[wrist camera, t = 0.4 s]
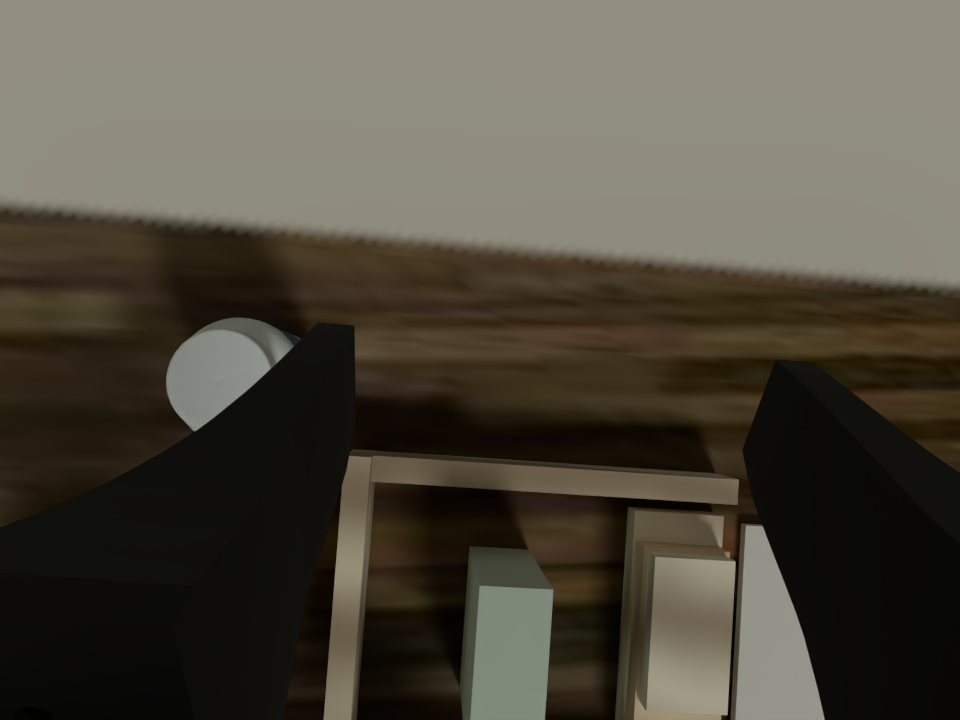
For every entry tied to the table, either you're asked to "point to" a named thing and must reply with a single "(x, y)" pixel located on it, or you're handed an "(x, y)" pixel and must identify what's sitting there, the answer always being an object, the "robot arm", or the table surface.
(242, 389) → the pill bottle
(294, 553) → the robot arm
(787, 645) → the grey pad
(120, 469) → the table surface
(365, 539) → the rack
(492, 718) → the green panel
